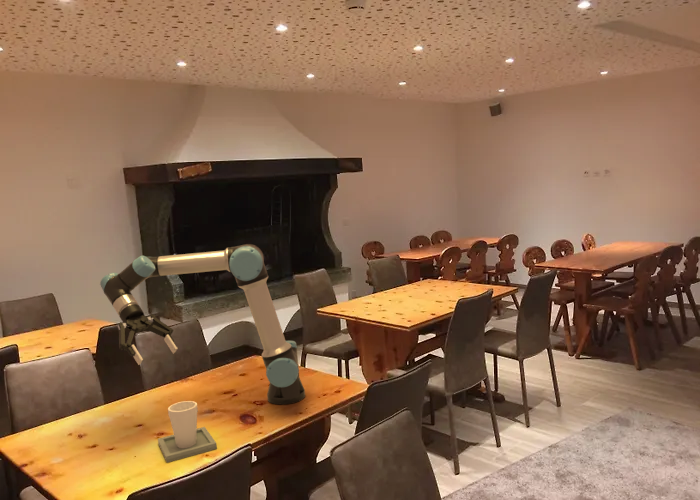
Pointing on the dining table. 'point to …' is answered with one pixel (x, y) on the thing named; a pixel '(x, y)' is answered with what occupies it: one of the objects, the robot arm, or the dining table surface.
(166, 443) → the tray
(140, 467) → the dining table surface
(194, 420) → the foam cup
